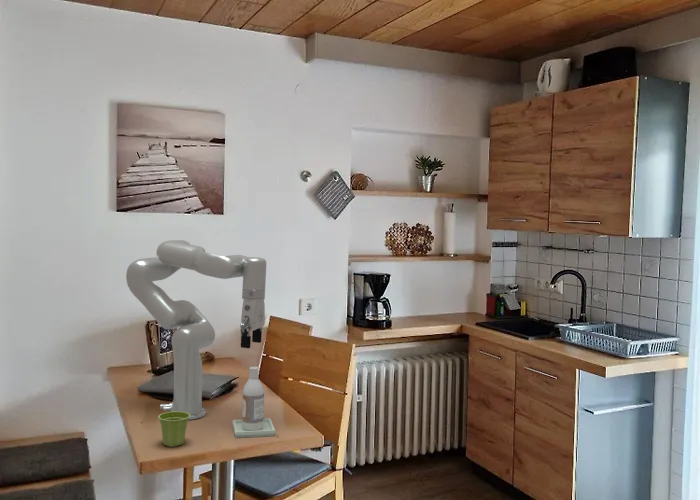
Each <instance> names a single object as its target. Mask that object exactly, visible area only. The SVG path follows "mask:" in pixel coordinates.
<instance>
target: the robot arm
mask: <svg viewBox="0 0 700 500" xmlns="http://www.w3.org/2000/svg"><path fill="white" fill-rule="evenodd" d="M181 269H187V270H191V271H194V272H196V273H199V274H201V275H204V276H207V277H213V278H216V279H217V278H218V279H221V280H223V279H224V280H226V279H227V280H228V279H233V278H241V277H242V291H241V292H242V293H241V298H242V299H243V300H242V301H243V302H242V307H241V309H242V310H241V317H240V318H241V320H240V321H241V323H240V324H239V326H240V348H243V349H250V348H251V342H252V343H256V344H257V343H261V344H262V337H263V336H262V335H263V334H262V333H263V332H262V331H263V327H264V326H265V323H266V321H265V320H266V319H265V312H266V310H265V299H266V279H267V261H266V259H265V258H263V257H255V256H254V257H252V256H246V255H242V254H233V255H232V254H230V255H220V254H215V253H210V252H206V250H205V248H204V247H203V246H201V245H195V244H191V243H190V242H189V241H186V240H184V239H180V240H179V239H177V240H176V239H174V240H165V241H163V242H161V243H160V244H159V245H158V246H157V249H156V257H154V256H153V257H143V258H139V259H136V260H134V261H132V262H131V263H130V264H129V266H128V267H127V269H126V274H125V276H126V284H127V287H128V288H129V291H130V292H131V293H132V295H133V296H134V297H135V298H136V299H137V300H138V301H139V302H140V303H141V304H142V306H144V308H145V309H146V310H147V311H148V313H149V314H150V315H151V316H152V317H153V318H154V319H155V321H156V322H157V324H159V325H160V327H161V328H163V329H164V330H174V329H175V331H174V333H173V334H172V337H171V347H172V348H171V349H172V354H173V400H172V402H169V403H160V404H159V407H160V408H159V409H160V410H163V412H164V411H165V412H173V411H180V412H186V413H189V414H190V417H189V419H188V421H189V420H197V419H200V418H203V417H205V416H206V414H207V411H206V408H204V407H202V404H203V403H202V400H203V397H202V396H203V394H202V393H203V361H202V357H201V354H200V350H203V349H205V348H207V347H209V346H211V345H212V344H213V343H214V341H215V339H216V332H215V328H214V326H213V325H212V324H211V323H210V321H209V320H208V319H207V318H206V317H205V315H204V314H203V313H202V312H201V311H200V310H199V309H198V308H197V306H195V305H194V304H193V303H192V302H190V301H189V300H184V299H181V300H173V299H172V298H170V296H169V295H168V294H167V293H166V291H164V289H163V288H161V287H160V286H158V285H157V284H155V283H154V282H157V281H158V282H159V281H162V280H167V278H170V277H171V276H172V275H174V274H175V273H176V272H178V271H179V270H181ZM251 333H252V335H251Z"/></svg>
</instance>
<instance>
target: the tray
mask: <svg viewBox="0 0 700 500" xmlns="http://www.w3.org/2000/svg"><path fill="white" fill-rule="evenodd" d="M232 430H233V434H234V438H235V439H245V438H262V437H276V428H275V427H274V424H273V421H272V419H271V418H270V417H268V418H265V417H264V424H263V428H262V429H260V430H256V431H248V430H245V429H243V428H242V419H232Z"/></svg>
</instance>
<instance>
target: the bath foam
mask: <svg viewBox="0 0 700 500" xmlns="http://www.w3.org/2000/svg"><path fill="white" fill-rule="evenodd" d="M248 370H249V372H248V373H249V374H248V376H249V377H248V380H247V381H246V383H245V384H244V386H243V389H242V404H241V405H242V406H241V407H242V409H241V410H242V412H241V413H242V414H241V415H242V417H241V420H242V428H243V429H245V430H248V431H256V430H260V429H262V428H263V424H264V419H265V416H264V415H265V389H264V386H263V383H262V382H261V380H260V379H259V366H250V367H249V369H248Z"/></svg>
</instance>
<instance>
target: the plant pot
mask: <svg viewBox="0 0 700 500" xmlns="http://www.w3.org/2000/svg"><path fill="white" fill-rule="evenodd" d="M157 417H158V419H159V422H160V427H161V435H162V444H163V445H164V446H166V447H172V448H174V447H177V446H179V445H180V446H181V445H182V446H183V445H184V443H185V438H186V433H187V427H188V422H189V420H188V419H189V417H190V414H189V413H186V412H180V411H173V412H169V411H165V412H163V413H160V414H159V415H158V416H157Z"/></svg>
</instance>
